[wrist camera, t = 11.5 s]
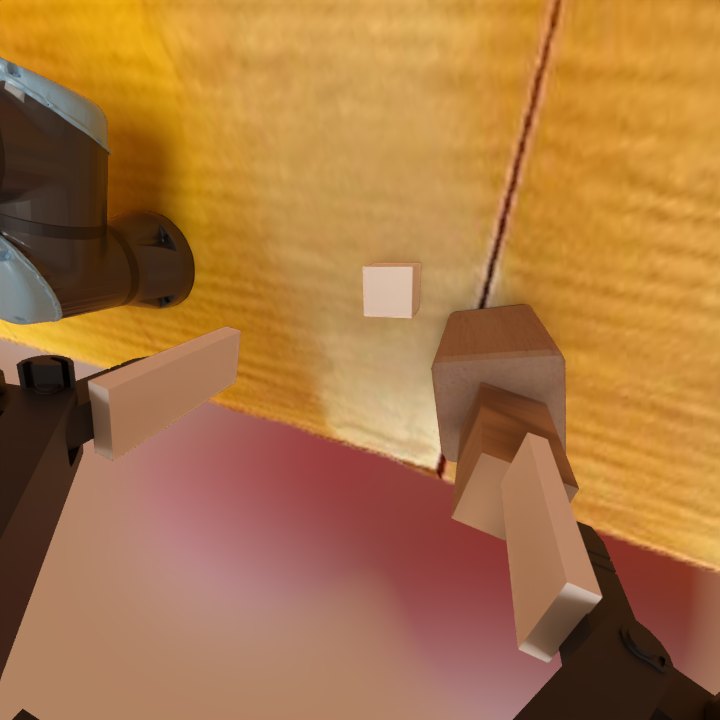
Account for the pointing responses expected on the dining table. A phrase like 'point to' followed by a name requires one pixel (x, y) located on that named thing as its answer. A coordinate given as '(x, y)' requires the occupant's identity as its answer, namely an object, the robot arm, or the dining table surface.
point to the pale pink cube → (391, 289)
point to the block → (495, 366)
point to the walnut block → (499, 454)
